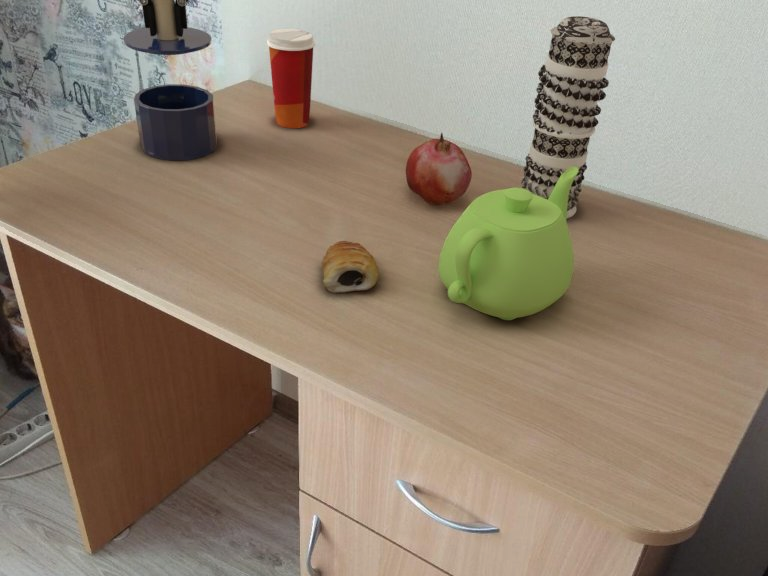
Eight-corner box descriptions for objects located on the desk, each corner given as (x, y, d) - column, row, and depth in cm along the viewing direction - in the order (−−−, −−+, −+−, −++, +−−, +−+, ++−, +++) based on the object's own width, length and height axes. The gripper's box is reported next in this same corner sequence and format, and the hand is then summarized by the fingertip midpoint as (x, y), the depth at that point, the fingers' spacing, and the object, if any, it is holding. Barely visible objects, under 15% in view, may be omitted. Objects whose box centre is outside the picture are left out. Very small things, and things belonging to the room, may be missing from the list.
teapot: (510, 238, 104) (527, 143, 96) (607, 283, 97) (635, 184, 88) (399, 297, 91) (408, 193, 83) (501, 354, 84) (522, 246, 75)
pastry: (319, 254, 98) (319, 227, 95) (372, 254, 99) (374, 227, 96) (323, 295, 91) (324, 266, 88) (380, 294, 92) (382, 266, 89)
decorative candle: (510, 213, 110) (543, 25, 94) (521, 187, 117) (553, 8, 101) (574, 226, 108) (619, 36, 92) (581, 199, 115) (624, 18, 99)
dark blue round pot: (138, 160, 116) (130, 110, 111) (145, 131, 125) (138, 83, 120) (216, 160, 118) (211, 111, 113) (217, 131, 126) (213, 84, 121)
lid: (119, 58, 106) (110, -3, 101) (129, 32, 115) (121, -25, 111) (210, 59, 108) (205, 0, 103) (213, 34, 117) (208, -22, 112)
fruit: (417, 179, 117) (423, 113, 111) (476, 194, 114) (485, 127, 108) (391, 202, 110) (396, 133, 104) (453, 218, 108) (462, 149, 101)
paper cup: (296, 110, 136) (295, 25, 127) (324, 124, 131) (325, 37, 123) (259, 119, 131) (255, 31, 122) (287, 134, 127) (285, 44, 118)
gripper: (77, -119, 95) (104, 40, 107) (214, -112, 97) (225, 42, 109) (86, -127, 101) (110, 25, 112) (215, -121, 103) (226, 27, 115)
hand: (167, 32), depth 111 cm, fingers closed on lid, 3 cm apart
